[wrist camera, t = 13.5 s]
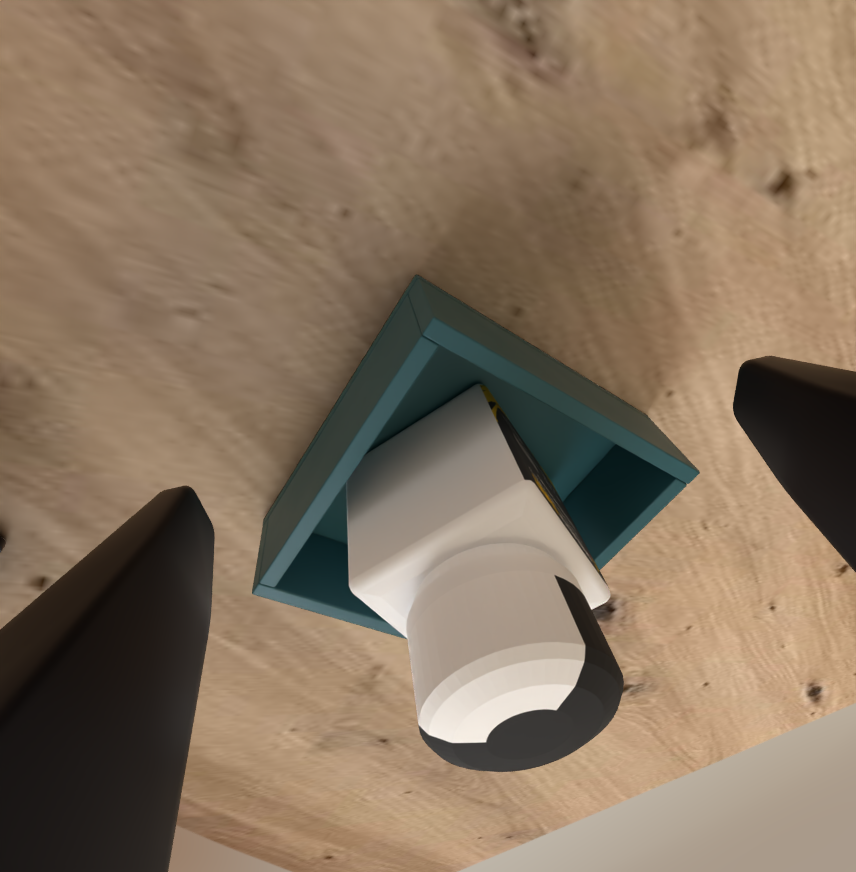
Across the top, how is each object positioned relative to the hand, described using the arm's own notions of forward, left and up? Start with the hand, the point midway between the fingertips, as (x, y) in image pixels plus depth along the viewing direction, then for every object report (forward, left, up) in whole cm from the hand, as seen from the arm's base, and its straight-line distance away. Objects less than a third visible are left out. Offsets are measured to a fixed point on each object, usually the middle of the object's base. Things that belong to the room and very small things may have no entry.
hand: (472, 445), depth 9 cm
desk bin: (-5, -9, -13) cm, 17 cm away
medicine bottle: (-6, -9, -13) cm, 16 cm away
